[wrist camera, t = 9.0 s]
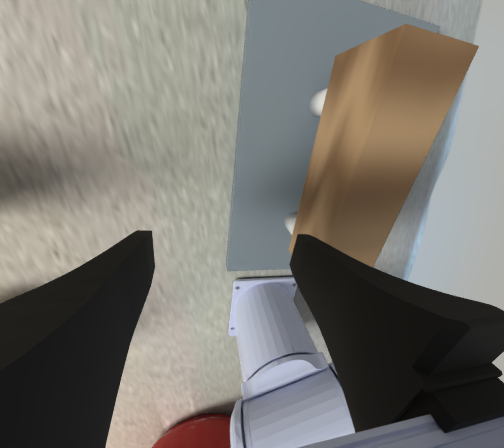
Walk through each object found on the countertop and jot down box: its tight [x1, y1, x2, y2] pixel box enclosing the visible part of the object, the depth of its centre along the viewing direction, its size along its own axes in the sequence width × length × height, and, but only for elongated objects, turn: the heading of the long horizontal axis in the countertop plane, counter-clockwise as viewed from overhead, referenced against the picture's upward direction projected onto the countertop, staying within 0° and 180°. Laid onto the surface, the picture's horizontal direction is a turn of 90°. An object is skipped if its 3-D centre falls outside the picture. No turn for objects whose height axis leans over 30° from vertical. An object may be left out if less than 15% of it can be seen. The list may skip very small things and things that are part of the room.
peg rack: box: [226, 0, 440, 271], centre depth 18 cm, size 22×14×4 cm, turn 173°
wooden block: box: [289, 24, 479, 267], centre depth 14 cm, size 14×4×5 cm, turn 173°
